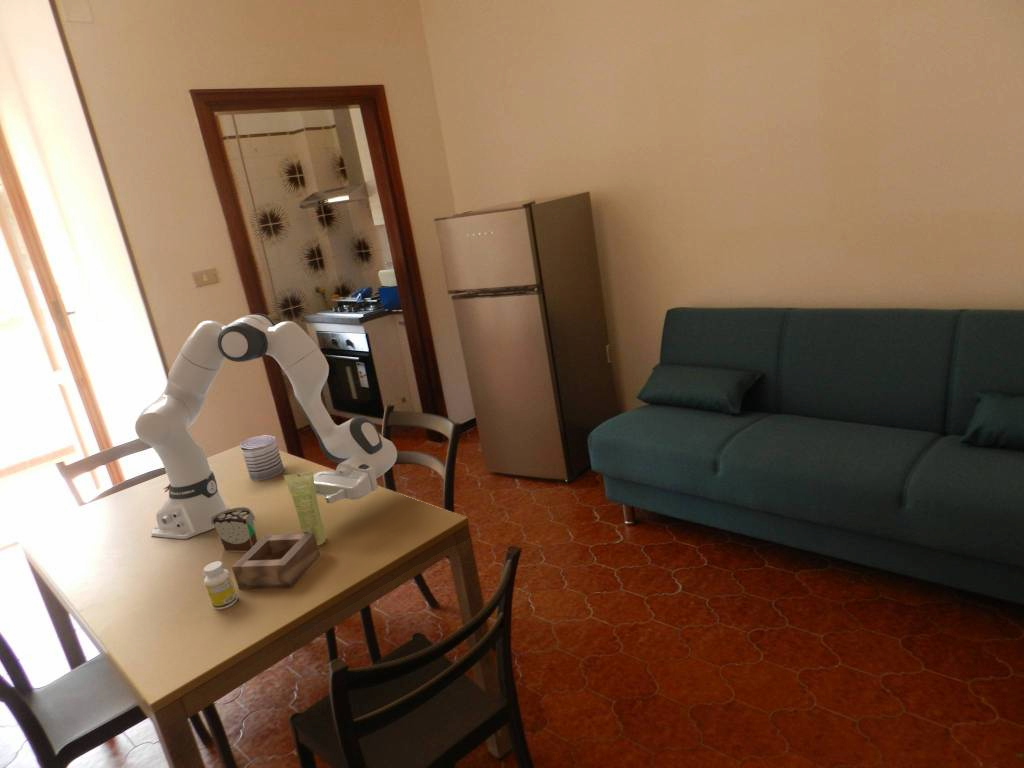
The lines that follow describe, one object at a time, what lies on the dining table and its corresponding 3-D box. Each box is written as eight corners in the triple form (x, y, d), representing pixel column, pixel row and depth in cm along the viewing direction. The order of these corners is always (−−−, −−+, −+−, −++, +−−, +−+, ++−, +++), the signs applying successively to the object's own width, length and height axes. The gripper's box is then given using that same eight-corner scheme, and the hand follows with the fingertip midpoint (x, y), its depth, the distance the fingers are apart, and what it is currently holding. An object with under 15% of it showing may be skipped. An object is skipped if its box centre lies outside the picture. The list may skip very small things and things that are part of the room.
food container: (273, 539, 187) (262, 506, 184) (258, 552, 182) (247, 517, 179) (236, 539, 191) (225, 506, 189) (220, 551, 186) (209, 517, 183)
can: (265, 465, 243) (256, 433, 240) (291, 466, 238) (282, 433, 235) (242, 480, 233) (231, 447, 230) (268, 481, 229) (258, 447, 225)
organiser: (239, 589, 165) (231, 566, 163) (270, 556, 178) (264, 535, 176) (291, 587, 162) (284, 565, 160) (320, 554, 174) (314, 533, 173)
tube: (323, 534, 185) (304, 467, 179) (331, 540, 181) (312, 471, 175) (303, 544, 182) (283, 475, 176) (311, 550, 178) (291, 480, 172)
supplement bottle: (217, 598, 163) (204, 561, 160) (240, 594, 163) (228, 557, 160) (210, 612, 158) (196, 574, 155) (234, 607, 158) (221, 569, 155)
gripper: (322, 462, 196) (284, 484, 185) (377, 467, 185) (340, 491, 174) (327, 482, 198) (290, 505, 187) (382, 489, 187) (346, 514, 176)
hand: (315, 499), depth 180 cm, fingers open, 8 cm apart
